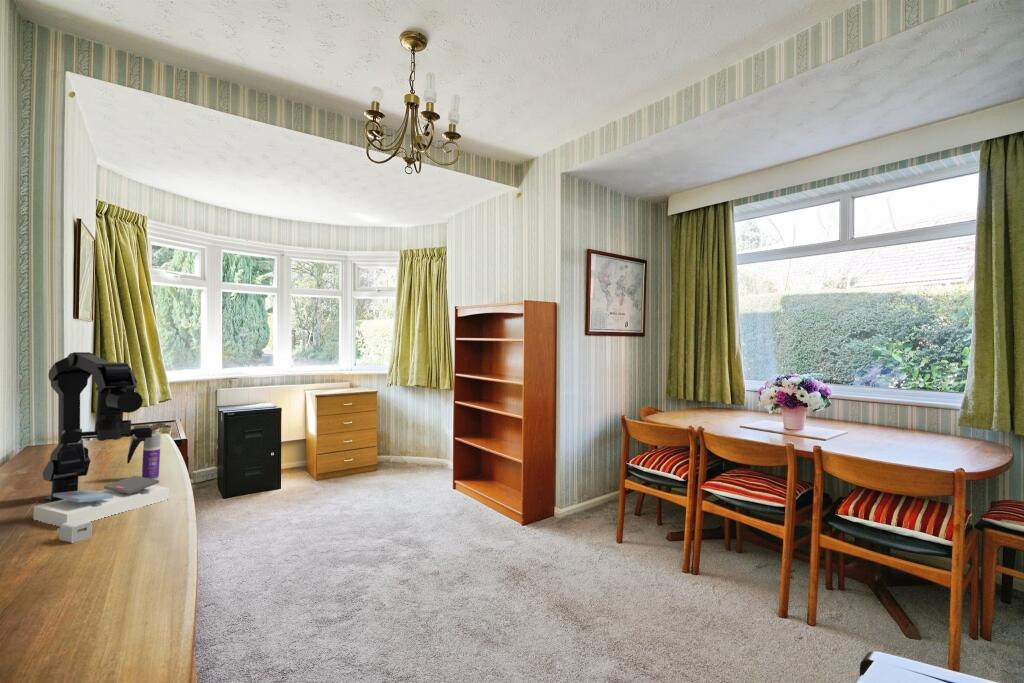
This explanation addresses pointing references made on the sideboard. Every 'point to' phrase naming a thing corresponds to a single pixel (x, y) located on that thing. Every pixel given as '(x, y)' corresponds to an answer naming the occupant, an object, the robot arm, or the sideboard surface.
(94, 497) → the plate
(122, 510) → the white long base
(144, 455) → the container
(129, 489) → the rocker charcoal
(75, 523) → the usb wall charger
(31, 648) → the sideboard surface
